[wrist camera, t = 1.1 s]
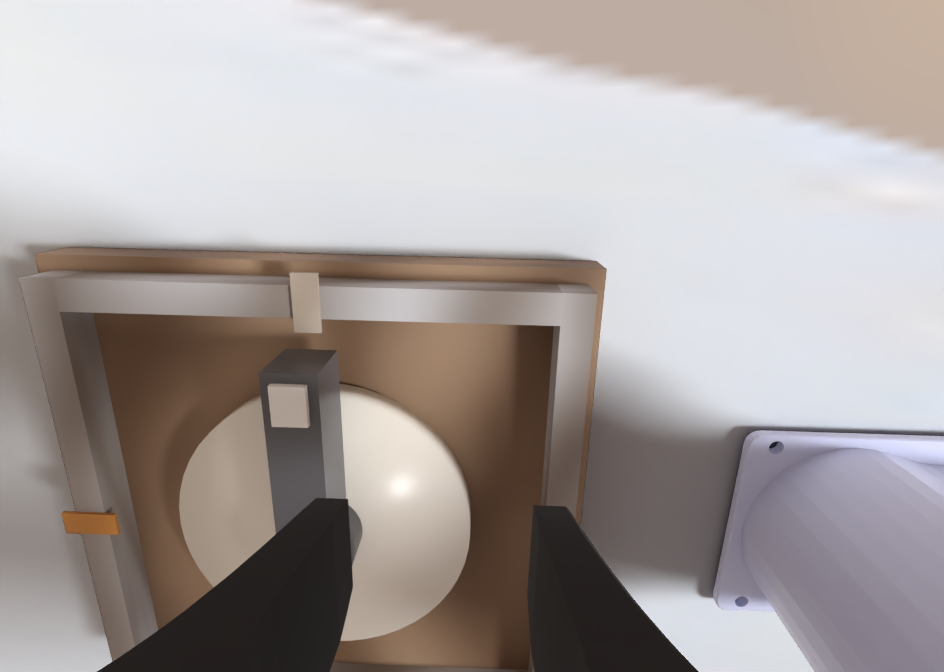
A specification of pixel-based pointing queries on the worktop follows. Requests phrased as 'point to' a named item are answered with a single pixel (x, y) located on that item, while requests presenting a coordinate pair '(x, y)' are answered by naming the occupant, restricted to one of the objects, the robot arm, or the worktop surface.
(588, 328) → the dial housing
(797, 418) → the worktop surface
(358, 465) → the dial
